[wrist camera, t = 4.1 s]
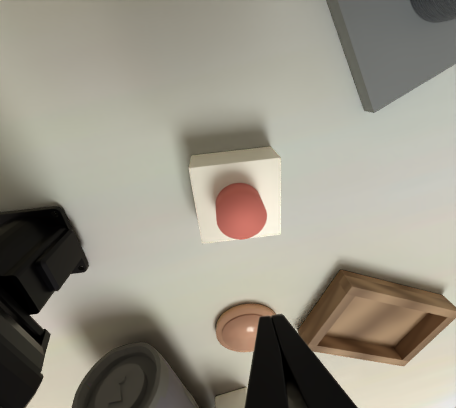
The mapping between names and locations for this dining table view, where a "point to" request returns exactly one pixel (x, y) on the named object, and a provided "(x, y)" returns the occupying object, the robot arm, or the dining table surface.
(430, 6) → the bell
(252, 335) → the domed saucer
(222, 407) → the ink cartridge box
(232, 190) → the button
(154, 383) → the bluetooth speaker
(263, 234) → the white square base
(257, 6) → the dining table surface
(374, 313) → the wooden tray
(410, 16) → the grey flat panel
